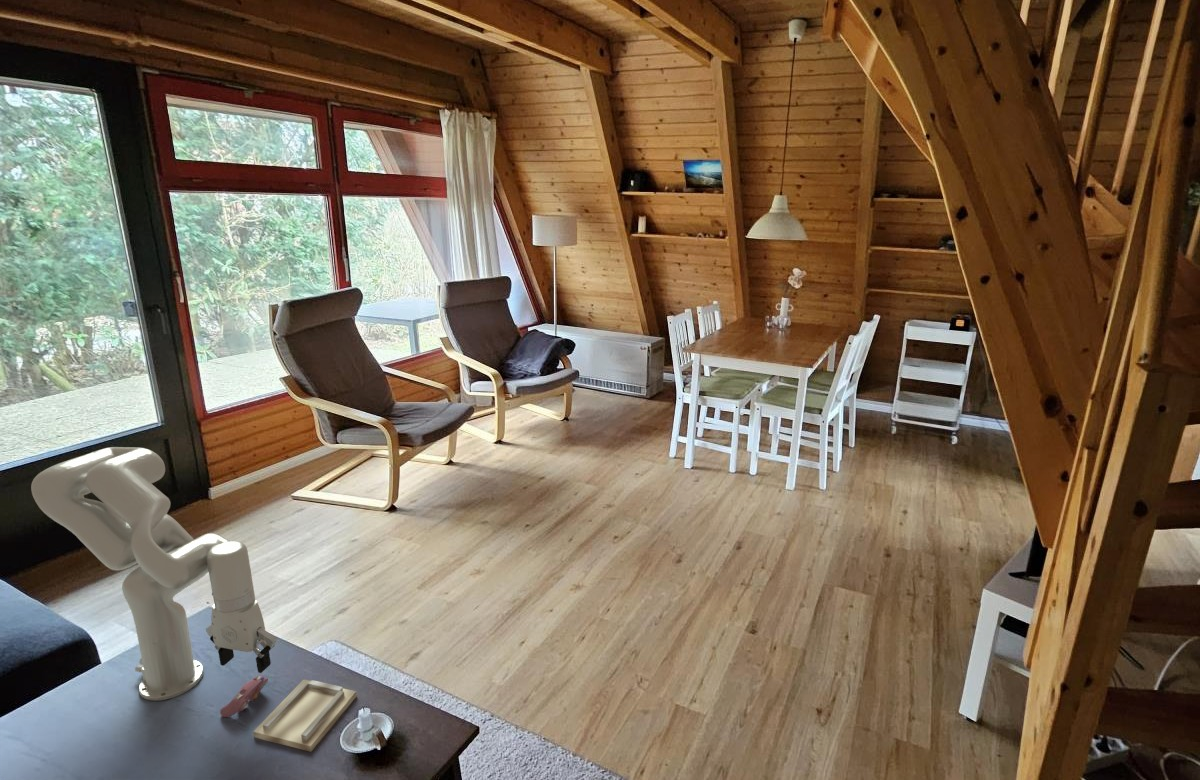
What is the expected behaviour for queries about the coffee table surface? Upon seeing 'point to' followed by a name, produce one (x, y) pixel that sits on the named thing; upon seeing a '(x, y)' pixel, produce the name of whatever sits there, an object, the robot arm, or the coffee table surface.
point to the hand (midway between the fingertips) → (245, 665)
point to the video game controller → (244, 696)
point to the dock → (305, 715)
